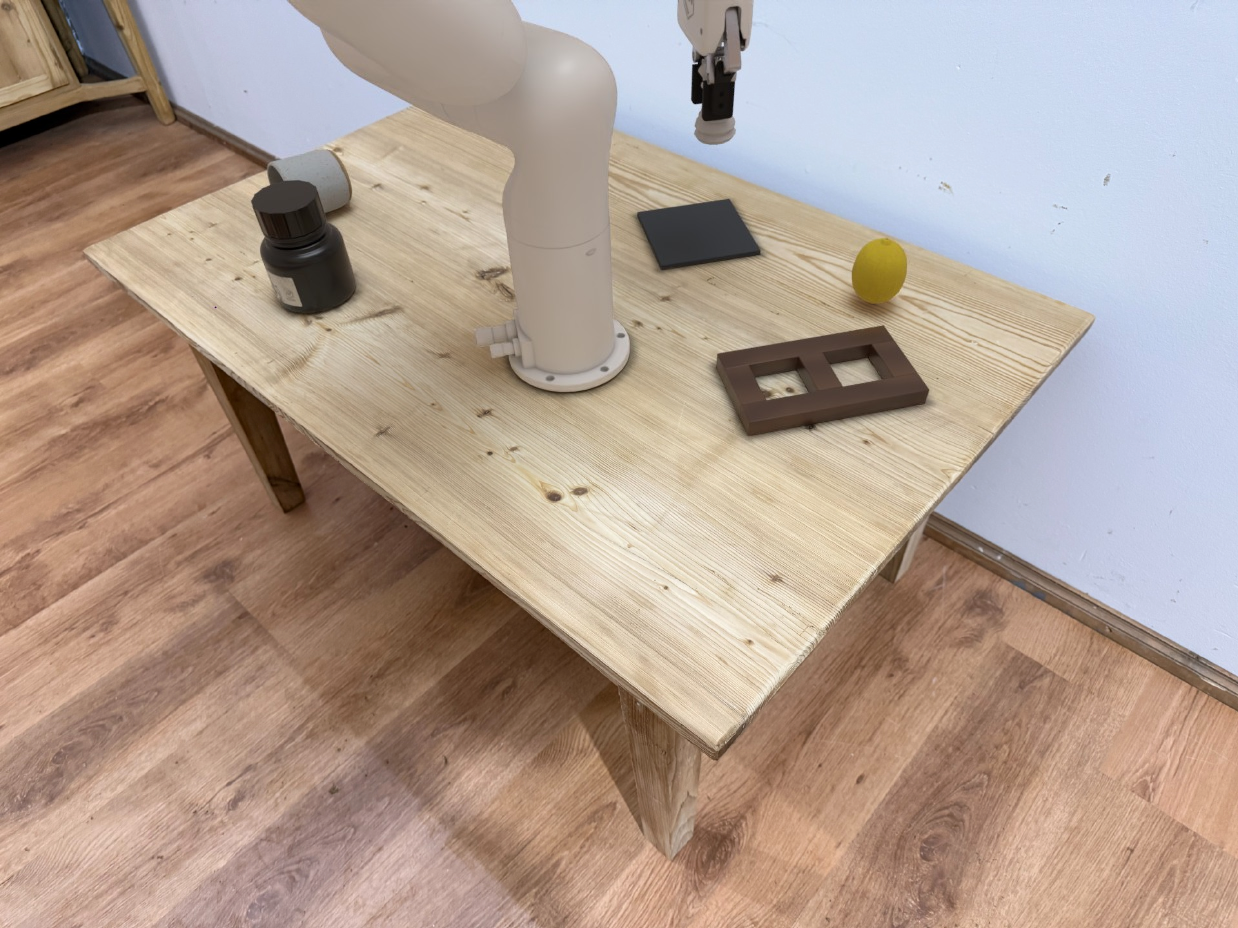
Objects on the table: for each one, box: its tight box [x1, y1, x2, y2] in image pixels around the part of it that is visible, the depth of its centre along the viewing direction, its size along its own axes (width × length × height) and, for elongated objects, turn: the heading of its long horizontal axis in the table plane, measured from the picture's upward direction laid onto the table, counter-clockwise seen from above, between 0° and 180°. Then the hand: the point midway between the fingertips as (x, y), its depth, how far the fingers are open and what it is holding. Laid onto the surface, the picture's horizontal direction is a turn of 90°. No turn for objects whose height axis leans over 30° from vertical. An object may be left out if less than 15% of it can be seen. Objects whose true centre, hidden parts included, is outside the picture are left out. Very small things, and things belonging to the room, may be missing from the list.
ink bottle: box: [250, 180, 357, 314], centre depth 93 cm, size 10×9×12 cm
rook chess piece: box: [693, 56, 737, 146], centre depth 88 cm, size 4×4×8 cm
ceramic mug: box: [266, 148, 353, 214], centre depth 107 cm, size 11×8×8 cm
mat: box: [636, 198, 762, 271], centre depth 103 cm, size 12×12×1 cm
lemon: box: [851, 237, 908, 305], centre depth 90 cm, size 6×6×8 cm
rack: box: [715, 324, 930, 436], centre depth 83 cm, size 10×18×2 cm, turn 103°
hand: (711, 108), depth 89 cm, fingers closed on rook chess piece, 3 cm apart
